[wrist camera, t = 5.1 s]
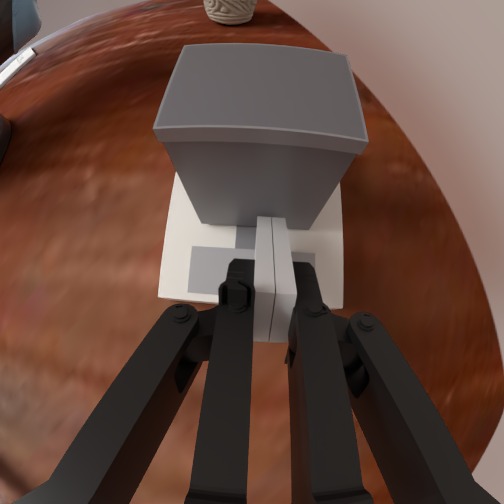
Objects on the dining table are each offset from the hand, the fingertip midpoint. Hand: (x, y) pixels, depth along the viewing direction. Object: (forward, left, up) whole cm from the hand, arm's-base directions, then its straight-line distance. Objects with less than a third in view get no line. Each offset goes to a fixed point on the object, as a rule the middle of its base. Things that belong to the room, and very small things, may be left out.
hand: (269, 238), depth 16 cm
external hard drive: (-65, -1, -6) cm, 66 cm away
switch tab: (-3, +3, -2) cm, 4 cm away
